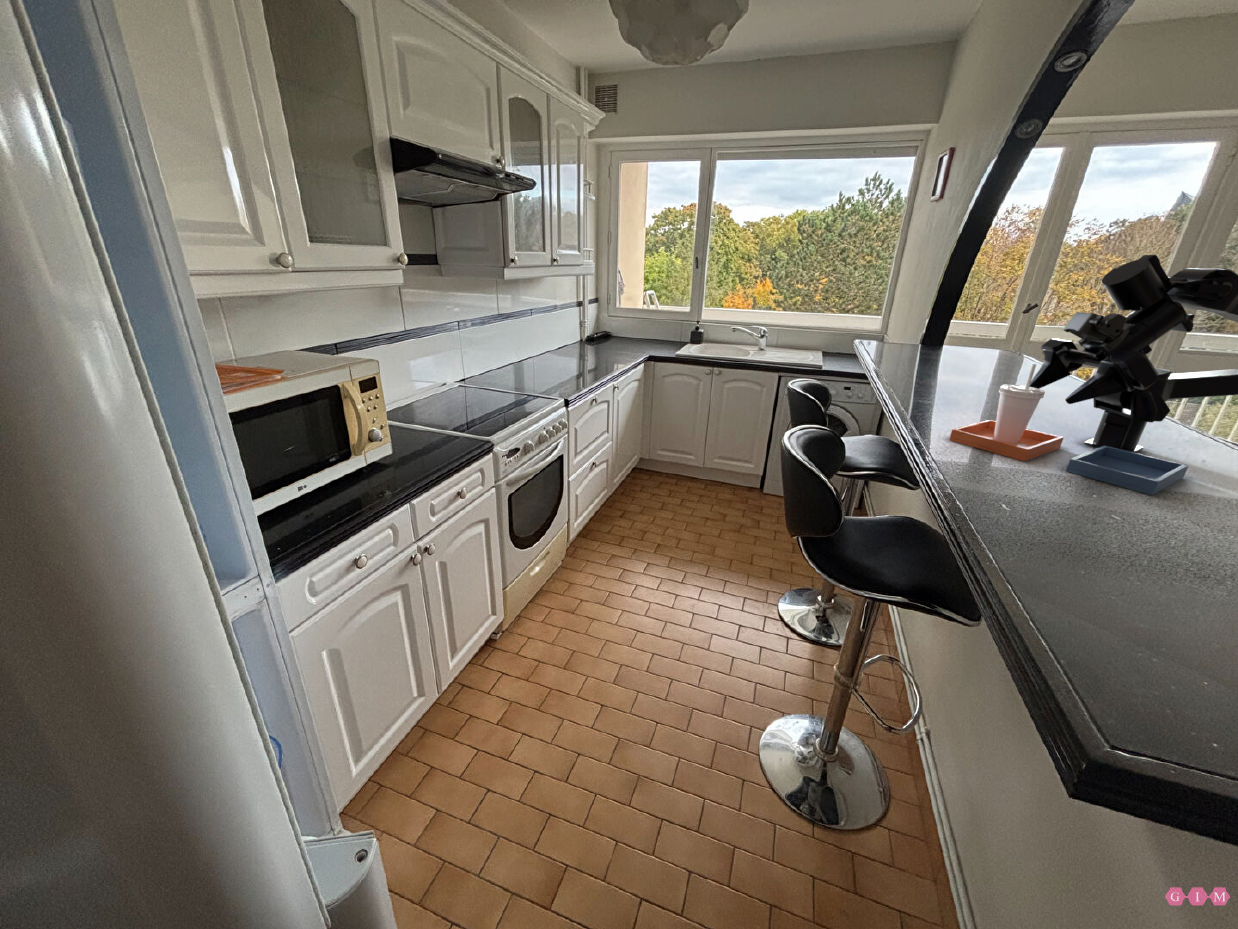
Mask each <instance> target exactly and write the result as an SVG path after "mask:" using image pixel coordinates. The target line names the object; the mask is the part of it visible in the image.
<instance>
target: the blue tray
mask: <svg viewBox="0 0 1238 929" xmlns="http://www.w3.org/2000/svg"><path fill="white" fill-rule="evenodd" d="M1189 466H1190V465H1188V464H1185V463H1180V462H1176V461H1171V460H1168V459H1163V458H1158V457H1156V456H1150V455H1147V454H1142V453H1138V452H1136V453H1134V452H1130V451H1125V450H1121V449H1117V448H1113V447H1108V446H1102V447H1100V448H1098V447H1096V448H1095V449H1092V450H1090V451H1087V452H1085V453H1081V454H1080V455H1077V456H1074V457H1072V458H1070V459H1069V462H1068V464H1067V466H1066V468H1065V471H1066V472H1068V473H1071V474H1074V475H1078V476H1082V477H1086V478H1089V479H1092V480H1096V481H1099V482H1102V483H1103V482H1104V483H1107V484H1110V485H1114V486H1116V487H1117V486H1118V487H1121V488H1125V489H1128V490H1130V491H1131V490H1132V491H1135V492H1139V493H1142V494H1146V495H1149V496H1154V495H1155V494H1157V493H1159V492H1160V491H1163V490H1164V489H1166V488H1168V487H1170V486H1171V485H1173V484H1175V483H1176V482H1178V481H1180V480H1181V479H1183V478H1184V477H1185V474H1187V473H1186V472H1187V471H1188V469H1189Z"/></svg>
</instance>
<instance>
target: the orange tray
mask: <svg viewBox="0 0 1238 929" xmlns="http://www.w3.org/2000/svg"><path fill="white" fill-rule="evenodd" d="M995 425H996V420H993V419H986V420H982V421H978V422H975V423H971V424H967V425H963V426H959V427H956V428H952V429H951V432H950V436H949V439H948V440H949V441H952V442H955V443H958V444H962V445H965V446H969V447H973V448H976V449H980V450H982V451H987V452H990V453H993V454H997V455H1001V456H1004V457H1007V458H1011V459H1015V460H1019V461H1022V462H1026V461H1029V460H1032V459H1034V458H1037V457H1040V456H1043V455H1046V454H1048V453H1051V452H1054V451H1057V450H1059V449H1061V446H1062V444H1063V441H1064V438H1065V437H1063V436H1060V435H1055V434H1051V433H1047V432H1043V431H1038V430H1034V429H1030V428H1026V429H1025V431H1024V433H1023V435H1022V437H1021V439H1020V441H1019V443H1018V444H1014V445H1013V444H1009V443H1005V442H1001V441H998V440H994V439H993V438H994V432H995Z"/></svg>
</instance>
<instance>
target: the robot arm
mask: <svg viewBox="0 0 1238 929" xmlns="http://www.w3.org/2000/svg"><path fill="white" fill-rule="evenodd" d="M1101 284H1102V285H1103V287H1104V288H1105V290H1106V291H1107V293H1108V294H1109V296H1110V298H1111V299H1112V301H1113V302H1114V303H1115V306H1117V308H1118V309H1119V310H1121V311H1131V312H1130V313H1129V314H1128V315H1126V316H1125V315H1123V314H1120V313H1111V312H1110V313H1108V314H1106V315H1103V314H1096V313H1091V312H1081V311H1076V312H1075V313H1074V315H1073V316H1072V317H1071V318H1070V319H1069V321H1068V322H1067V323H1066V324H1065V326H1064V327H1063V328H1062V330H1063V331H1064V332H1066V333H1071V334H1072V335H1074V336H1076V337H1078V338H1080V339H1079V340H1078V341H1077V343H1078V344H1079V346H1080V347H1082V348H1083V349H1082V350H1080V349H1079V348H1078V347H1077V346H1076V344H1075V342H1074V341H1073V340H1068V339H1067V340H1066V339H1061V338H1050V339H1048V340H1047V341H1045V343H1043V344H1042V345H1040V348H1041V350H1042V355H1043V356H1044V358H1043V359H1044V360H1043V362H1042V365H1041V366H1040V368H1039V369H1038V371H1037V372H1036V374H1035V375H1034V376H1033V377H1032V380H1031V383H1030V386H1029V387H1034V388H1038V389H1042V388H1044V387H1047V386H1049V385H1051V384H1053V383H1055V382H1058V381H1060V380H1062V379H1064V378H1067V377H1069V376H1071V375H1072V374H1071V373H1072V372H1074V371H1077V370H1079V369H1080V368H1082V367H1083V365H1085V366H1088V367H1089V366H1090V367H1094V368H1095V369H1097V370H1096V372H1095V373H1094V375H1092V376H1091V377H1090V378H1089V379H1087V380H1086V381H1085V382H1084V383H1082V384H1081V385H1080V386H1079V387H1077V388H1076V389H1075V390H1074V391H1072V392H1071V393H1070V394H1069V395H1068V396H1067V397H1066V398H1065V402H1066V404H1068V405H1073V404H1076V403H1080V402H1085V401H1088V400H1093V408H1094V409H1100V410H1102V411H1103V414H1102V417H1101V419H1100V421H1099V424H1098V425H1097V426H1098V427H1097V429H1096V431H1095V434H1094V436H1093V438H1091V439H1087V440H1085V441H1084V442H1083V444H1084V445H1086V446H1089V447H1094V448H1100V447H1102V446H1108V447H1113V448H1117V449H1121V450H1125V451H1130V452H1134V453H1138V452H1140V451H1143V450H1144V446H1142V445H1139V442H1140V439H1141V437H1142V435H1143V432H1144V430H1145V427H1146V425H1147V423H1154V422H1159V423H1160V422H1163V421H1164V420H1165V418H1166V417H1167V416H1168V415H1169V413H1170V412H1171V408H1169V406H1168V404H1167V401H1170V400H1182V399H1183V400H1184V399H1198V398H1211V397H1227V396H1228V397H1229V396H1238V368H1232V369H1230V368H1229V369H1219V370H1218V369H1217V370H1216V369H1215V370H1206V371H1205V370H1204V371H1191V372H1177V373H1173V370H1169V369H1165V368H1160V367H1155V366H1154V365H1153V363H1152V362H1151V360H1150V358H1149V357H1148V356H1147V355H1148V354H1149V353H1150V352H1152V351H1153V349H1152V347H1151V345H1153V343H1155V342H1156V341H1158V340H1159V339H1161V338H1162V337H1164V336H1165V335H1166V334H1167V333H1169V332H1170V331H1176V332H1183V333H1184V332H1185V333H1191V332H1192V331H1193V329H1194V319H1195V317H1196V315H1195V314H1192V313H1187V311H1186V309H1191V310H1198V311H1204V312H1209V313H1212V314H1215V315H1219V316H1220V317H1222V318H1225V319H1228V320H1229V321H1231V322H1234V323H1236V324H1238V273H1237V272H1235V271H1234V270H1232V269H1227V268H1184V269H1182V270H1179V271H1177V272H1176V273H1174V274H1173V275H1172V276H1168V274H1167V273H1166V272H1165V269H1164V268H1163V266H1162V265H1161V260H1160V259H1159V257H1158V255H1157V254H1143V255H1142V256H1141V257H1139V258H1138V259H1135V260H1132V261H1129V262H1127V263H1124V264H1121V265H1120V266H1118V267H1115V268H1112V269H1111V270H1110V271H1108V272H1107V273H1106V274H1105V275H1103V277H1102V279H1101Z"/></svg>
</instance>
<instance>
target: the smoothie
mask: <svg viewBox="0 0 1238 929" xmlns="http://www.w3.org/2000/svg"><path fill="white" fill-rule="evenodd" d="M1036 367H1037V364H1036V363H1032V364H1031V367H1030V369H1029V370H1030V371H1029V374H1028V376H1027V379H1026V383H1025V385H1020V384H1002V385H1000V387H999V390H998V393H999V399H998V406H997V413H996V419H995V421H996V425H995V432H994V438H993V439H994V440H998V441H1001V442H1005V443H1009V444H1013V445H1014V444H1018V443H1019V441H1020V439H1021V437H1022V435H1023V433H1024V431H1025V429H1027V427H1028V425H1029V423H1030V421H1031V419H1032V417H1033V415H1034V412H1035V411H1036V409H1037V407H1038V406H1039V403H1040V401H1041V399H1043V398H1045V393H1046V392H1045V390H1043V389H1042V388H1040V389H1038V388H1034V387H1029V386H1030V383H1031V381H1032V379H1033V378H1034V373H1035V370H1036Z"/></svg>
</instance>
